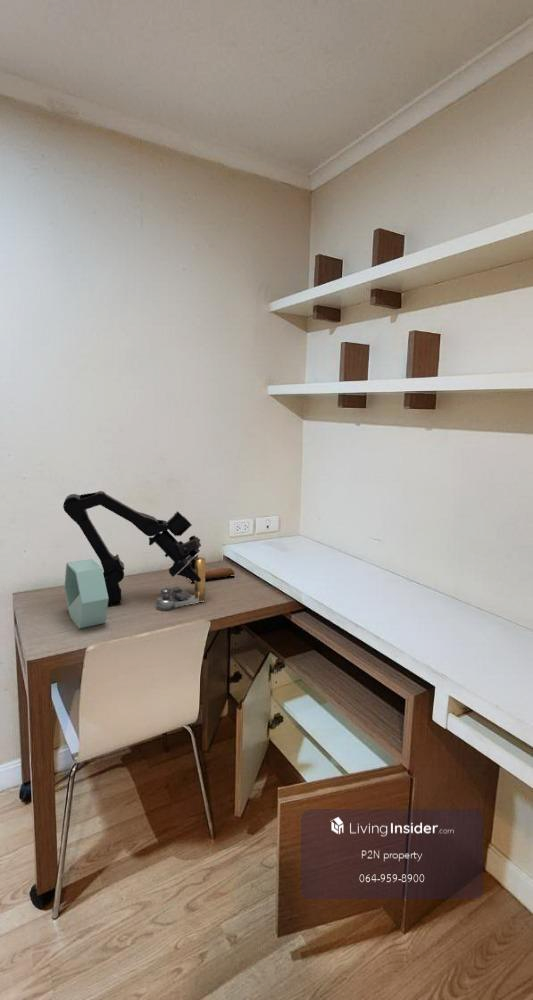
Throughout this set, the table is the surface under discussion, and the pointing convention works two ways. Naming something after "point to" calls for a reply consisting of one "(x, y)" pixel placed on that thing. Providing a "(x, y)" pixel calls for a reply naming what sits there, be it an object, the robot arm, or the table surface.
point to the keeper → (180, 593)
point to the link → (197, 597)
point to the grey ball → (166, 593)
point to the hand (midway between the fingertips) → (202, 578)
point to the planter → (86, 593)
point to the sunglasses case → (217, 573)
